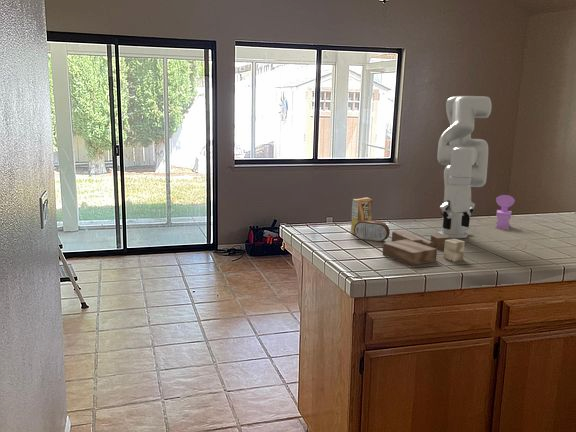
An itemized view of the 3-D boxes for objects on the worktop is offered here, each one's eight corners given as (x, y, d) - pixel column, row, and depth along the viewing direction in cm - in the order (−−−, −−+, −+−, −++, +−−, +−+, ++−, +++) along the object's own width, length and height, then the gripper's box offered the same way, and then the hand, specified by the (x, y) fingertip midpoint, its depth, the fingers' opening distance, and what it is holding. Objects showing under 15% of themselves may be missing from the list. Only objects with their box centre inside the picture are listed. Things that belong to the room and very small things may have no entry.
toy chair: (492, 227, 255) (496, 196, 252) (493, 224, 263) (496, 193, 260) (511, 229, 252) (515, 198, 249) (512, 225, 260) (515, 195, 257)
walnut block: (405, 251, 213) (406, 239, 212) (436, 261, 200) (436, 248, 199) (382, 255, 207) (383, 242, 206) (411, 266, 194) (412, 253, 193)
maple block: (452, 256, 206) (454, 238, 205) (463, 259, 202) (464, 241, 201) (443, 258, 204) (444, 240, 202) (453, 261, 200) (455, 243, 198)
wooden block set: (413, 238, 211) (391, 228, 228) (412, 252, 212) (390, 241, 229) (451, 235, 216) (426, 226, 233) (450, 249, 217) (425, 238, 234)
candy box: (364, 230, 246) (365, 197, 243) (371, 232, 243) (372, 198, 240) (350, 233, 240) (351, 199, 237) (357, 234, 237) (359, 200, 234)
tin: (389, 241, 227) (390, 222, 225) (387, 243, 224) (388, 223, 222) (354, 237, 233) (355, 218, 231) (352, 239, 230) (353, 219, 228)
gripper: (467, 179, 204) (464, 223, 208) (434, 181, 196) (431, 227, 199) (484, 181, 198) (479, 227, 201) (450, 183, 189) (447, 231, 192)
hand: (455, 227), depth 200 cm, fingers open, 9 cm apart
